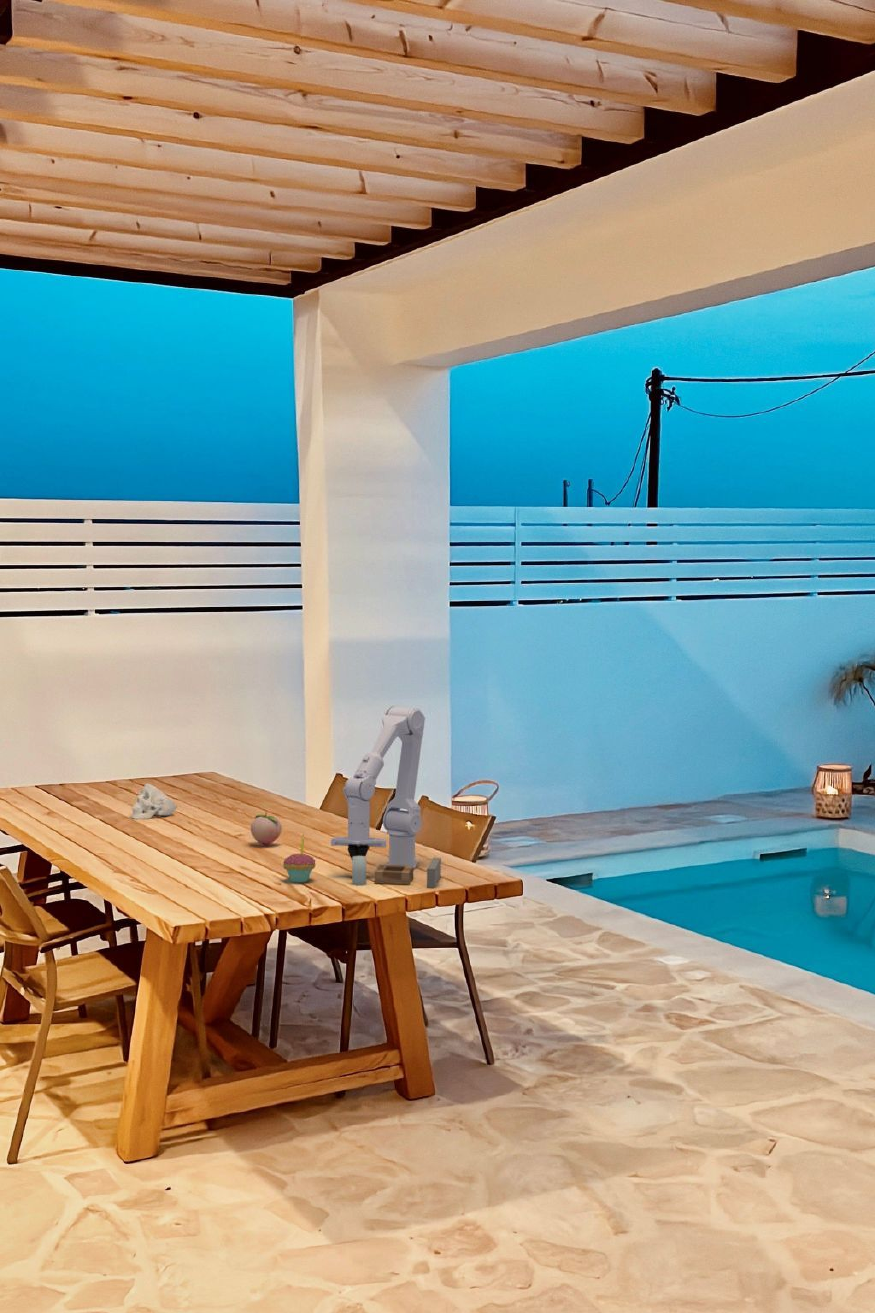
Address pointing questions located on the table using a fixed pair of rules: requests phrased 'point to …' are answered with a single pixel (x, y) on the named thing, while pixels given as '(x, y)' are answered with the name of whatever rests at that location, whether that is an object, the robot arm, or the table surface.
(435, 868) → the wall
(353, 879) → the dowel
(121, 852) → the table surface
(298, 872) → the cupcake
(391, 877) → the brown square frame
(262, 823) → the decorative fruit
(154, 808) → the skull bowl
